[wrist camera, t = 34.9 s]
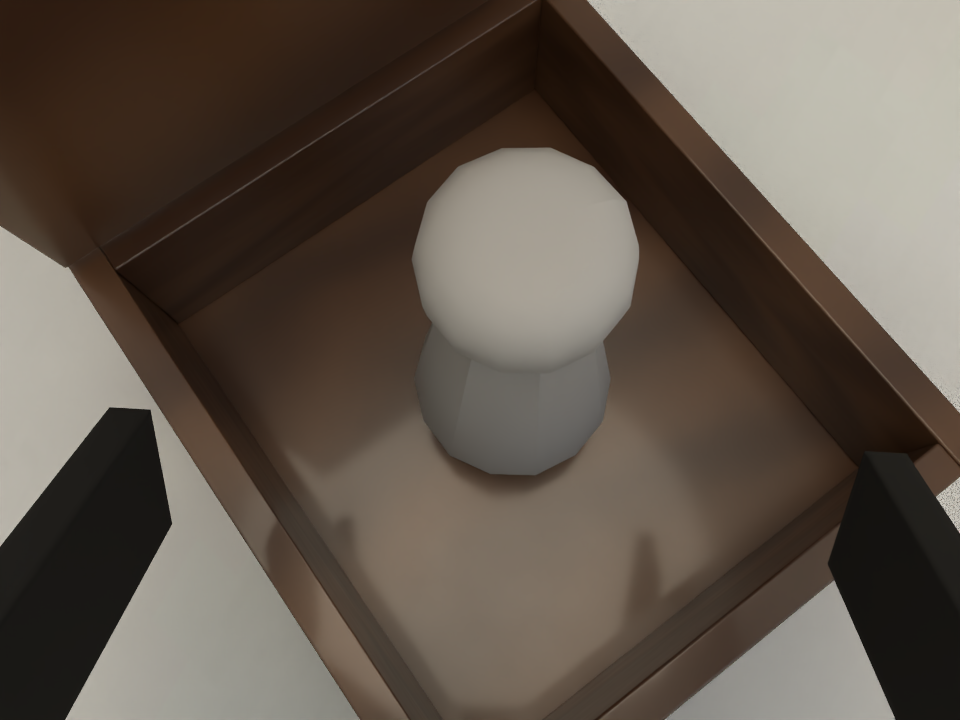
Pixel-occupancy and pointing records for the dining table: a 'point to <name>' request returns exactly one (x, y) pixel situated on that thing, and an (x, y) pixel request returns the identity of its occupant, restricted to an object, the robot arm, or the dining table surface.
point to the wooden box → (500, 497)
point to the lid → (168, 97)
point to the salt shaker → (520, 306)
